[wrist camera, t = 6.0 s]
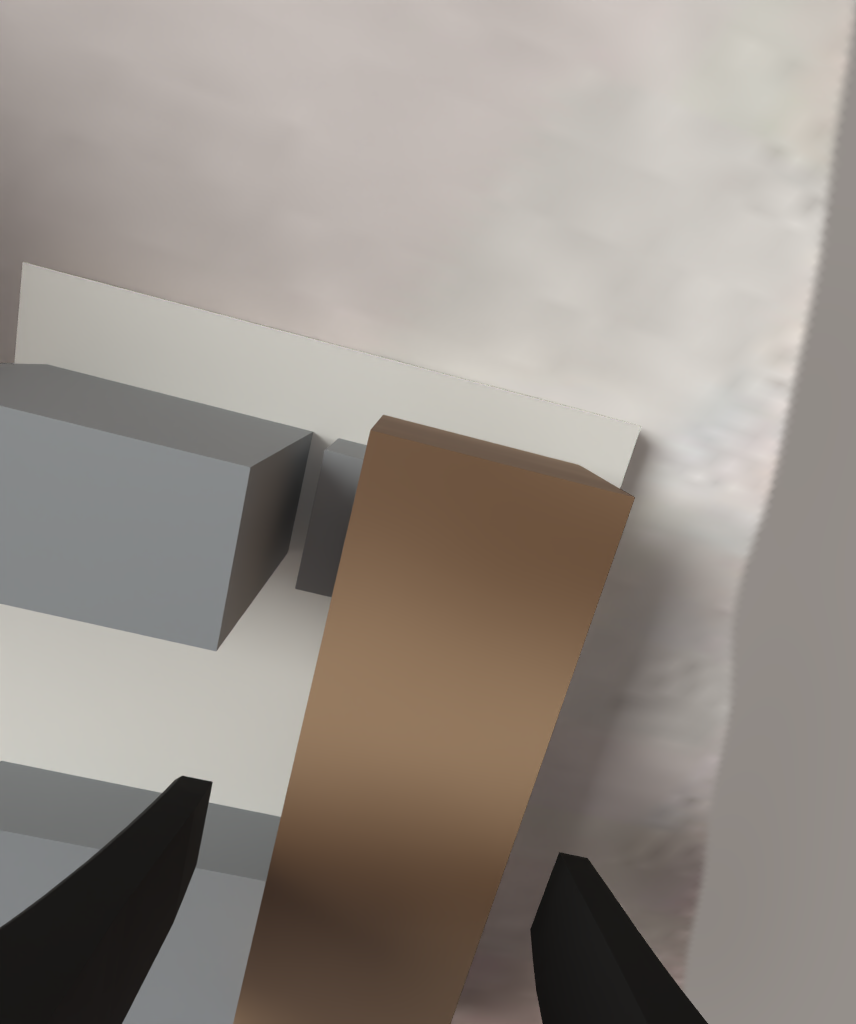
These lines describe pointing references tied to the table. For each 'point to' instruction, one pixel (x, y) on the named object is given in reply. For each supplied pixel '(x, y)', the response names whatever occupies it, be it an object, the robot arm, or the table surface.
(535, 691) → the walnut bar
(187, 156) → the table surface
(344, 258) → the table surface
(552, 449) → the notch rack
